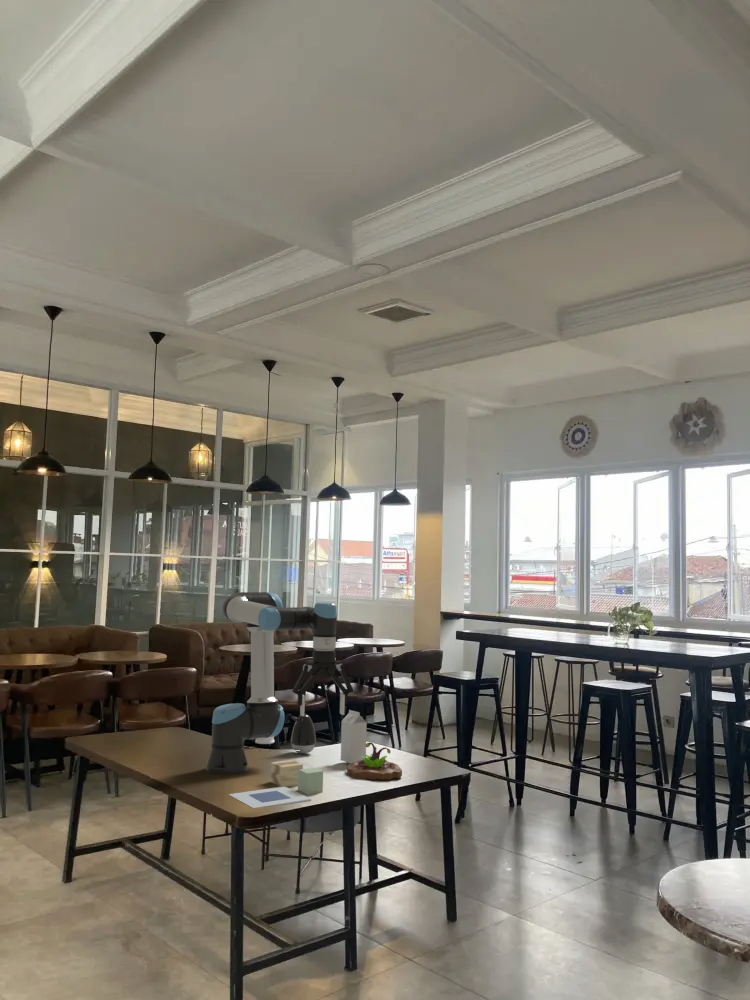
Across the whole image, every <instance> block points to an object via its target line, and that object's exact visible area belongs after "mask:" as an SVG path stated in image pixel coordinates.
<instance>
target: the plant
mask: <svg viewBox="0 0 750 1000" xmlns="http://www.w3.org/2000/svg"><path fill="white" fill-rule="evenodd" d="M370 746H372V753H371V754H370V755H368V754H366V758H365V757H362V756H361V758H363V759H364V760H361V761H357V762H353V763H348V765H347V766H346V772H347V774H346V775H348V776H351V777H352V778H353V779H357V780H382V781H383V780H389V781H390V780H393V779H399V778H400V779H401V778H402V777H401V776H403V769H402V768H401V767H400V766H399V765H398V764H397V763H394V762H390V761H389V760H387V759H386V758H387V757H388V755H383V756H381V753H382V751H383V750H386V751H387V752H386V753H387V754H389V755H390V754H391V751H392V750H390V749H389V748H387V747H382V748H380V749H379V750H378V751H377V747H376V746H375V745H374V743H373V742H366V748H369V747H370Z"/></svg>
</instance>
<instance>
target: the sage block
mask: <svg viewBox="0 0 750 1000" xmlns="http://www.w3.org/2000/svg"><path fill="white" fill-rule="evenodd" d="M323 790H324V771H323V770H321V769H318V768H316V767H309V768H303V769H299V770H298V785H297V791H299V792H301V791H302V792H301V793H303V792H304V794H305V793H306V795H310V794H309V793H312V794H316V793H317V794H319V793H318V792H320V793H323V792H324V791H323Z"/></svg>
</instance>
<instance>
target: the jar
mask: <svg viewBox="0 0 750 1000" xmlns="http://www.w3.org/2000/svg"><path fill="white" fill-rule="evenodd" d="M254 743H255V744H259V745H268V744H269V745H270V744H274V743H275V736H273V737H269V738H257V739H255V741H254Z"/></svg>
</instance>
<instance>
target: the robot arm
mask: <svg viewBox="0 0 750 1000" xmlns="http://www.w3.org/2000/svg"><path fill="white" fill-rule="evenodd" d="M221 608H222V609H221V610H222V614H223V617H224V618H225V619H226V620H228V621H229V622H232V623H236V624H246V629H247V631H249V632H250V698H249V699H248V700H247V701H246V705H245V704H244V703H241V702H236V703H227V704H222V705H219V706H217V707H215V709H214V710H213V713H212V719H211V723H212V724H211V748H210V753H209V755H208V758H207V761H206V764H205V772H206V771H207V772H206V773H208V772H209V774H212V775H218V774H219V775H220V776H226V775H227V776H234V775H233V774H235V775H241V774H244V772H245V773H247V772H248V770H249V763H248V759H247V755H246V752H245V747H244V745H245V740H246V741H247V740H254V739H255V740H256V739H257V738H269V737H273V736H274V737H277V735H279V734H280V733H281V731H282V730H283V728H284V724H285V712H284V708H283V706H282V705H281V704H279V700H278V699H277V697H275V670H274V669H275V666H274V664H275V662H274V661H275V656H274V655H275V652H274V647H275V645H274V643H275V642H274V634H275V631H285V630H287V631H293V630H294V631H295V630H299V631H301V630H302V631H303V630H311V631H313V635H312V636H313V637H312V638H313V639H312V649H314V650H313V651H312V664H306V663H305V664H303V665H302V670H301V672H300V674H299V676H298V678H297V681H295V682H296V683H295V684H294V686H293V688H292V693H293V694H295V695H297V705H298V706H300V707H299V708H300V709H299V710H300V711H299V713H300V714H299V716H300V715H301V716H304V714H305V712H306V711H305V707H306V705H305V704H306V703H305V702H306V695H304V694H305V692H306V691H307V690H308V689H309V688H310V686H312V684H313V683H314V681H316V680H317V679H329V678H330V679H332V681H333V682H334V683H335V684H336V687H338V688H339V690H340V691H341V692H342V693H340V695H339V697H340V698H339V699H340V700H339V714H340V715H342V716H345V709H346V708H345V705H347V704H348V699H349V698H348V695H349V694H351V693H353V692H354V689H353V687H352V684H351V681H350V680H349V677H348V675H347V672H346V669H345V665H344V664H343V663H339V664H336V651H335V649H336V646H337V645H336V644H337V642H336V639H337V620H338V619H337V618H338V613H337V612H338V611H337V605H336V603H333V602H316V603H314V606H312V607H311V606H301V607H300V606H298V607H297V606H296V607H284V605H283V601H282V600H281V598H280V596H279V594H276V593H275V592H268V591H259V592H255V591H254V592H253V591H252V592H251V591H250V592H245V591H242V592H241V591H240V592H235V593H231V594H230V595H228V597H226V598H225V600H224V601H223V603H222V607H221ZM336 670H337V671H338V672H339V674H340V676H341V679H342V681H343V682H344V685H345V686H344V685H343V683H342V682H341V680H339V678H338V677H337V675H336V674H335V671H336ZM310 671H312V673H311V674H310V676H309V678H308V679H307V680H306V681H305V683H304V680H305V678H306V677H307V674H308V672H310ZM303 683H304V684H303ZM302 684H303V685H302ZM240 773H241V774H240Z"/></svg>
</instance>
